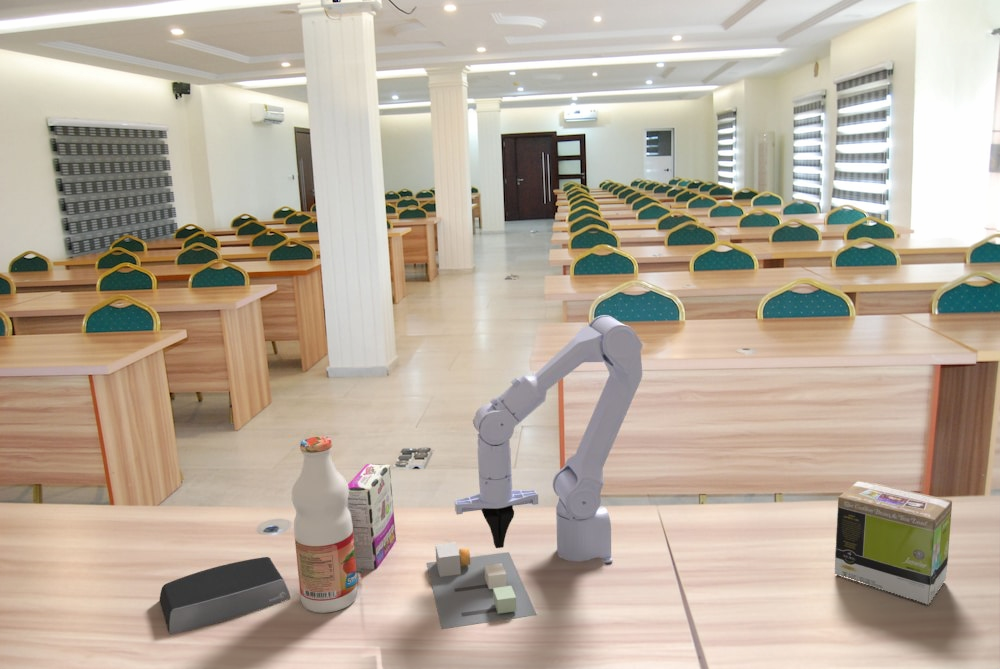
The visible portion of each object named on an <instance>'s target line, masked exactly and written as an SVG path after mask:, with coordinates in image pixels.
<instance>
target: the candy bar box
mask: <svg viewBox="0 0 1000 669" xmlns="http://www.w3.org/2000/svg"><path fill="white" fill-rule="evenodd" d="M391 477H392V476H391V464H381V463H380V464H379V463H375V464H374V463H366V464H365V465H364V466H363V467H362V468H361V469H360V471H358V473H357V474H356V475H355V476H354V477H353V478H352V479H351V480H350V482H349V483H347V484H348V488H349V497H348V502H347V507H348V509H349V511H350V513H351V517H352V524H353V537H354V549H355V561H356V573H357V572H361V573H362V569H366V570H377V569H378V568H379V566H380V565H381V564H382V562H383V561H384V559H385V558H386V557H387V555H388V553H389V552H390V551H391V549H392V548H393V546H394V545H395V543H396V541H397V537H396V524H395V512H394V502H393V501H394V500H393V489H392V478H391Z"/></svg>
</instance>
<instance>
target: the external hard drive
mask: <svg viewBox="0 0 1000 669" xmlns="http://www.w3.org/2000/svg"><path fill="white" fill-rule="evenodd" d="M161 587H162V588H161V590H160V595H159V604H160V606H161V612H162V615H163V617H164V620H165V624H166V627H167V632H168V634H169V635H173V633H174V634H178V633H182V632H186V631H189V630H190V631H191V630H195V629H198V628H202V627H206V626H209V625H213V624H216V623H220V622H224V621H228V620H230V619H234V618H237V617H241V616H244V615H247V613H248V614H250V612H251V613H254V612H257V611H259V609H260V610H262V609H266V608H268V606H269V607H271V606H275V605H277V603H278V604H280V603H282V602H281V601H283V602H285V600H286V601H288V600H290V599H289V598H291V594H290V591H289V588H288V586H287V584H286V582H285V579H284V578H283V576H282V575H281V574H280V572H279V570H278V569H277V568H276V566H275V564H274V563H273V561H272V559H271V557H269V556H262V557H256V558H251V559H246V560H240V561H235V562H231V563H227V564H223V565H218V566H215V567H211V568H207V569H205V570H200V571H197V572H195V573H191V574H188V575H185V576H182V577H179V578H177V579H175V580H172V581H169V582H167V583H165V584H164V585H162V586H161ZM287 599H288V600H287ZM274 604H275V605H274Z"/></svg>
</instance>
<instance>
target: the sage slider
mask: <svg viewBox="0 0 1000 669" xmlns="http://www.w3.org/2000/svg"><path fill="white" fill-rule="evenodd" d="M493 601H494V604H495V607H496V610H497V613H498V614H500V613H507V612H514V611H517V609H516V596H515V593H514V591H513V589H512V586H505V587H498V588H493Z"/></svg>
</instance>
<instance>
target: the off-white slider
mask: <svg viewBox="0 0 1000 669" xmlns="http://www.w3.org/2000/svg"><path fill="white" fill-rule="evenodd" d="M485 580H486V582H487V585H488V588H489V589H493V588H498V587H505V586H507V582H506V572H505V570H504V567H503V565H502V563H500V564H492V565H485Z"/></svg>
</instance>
